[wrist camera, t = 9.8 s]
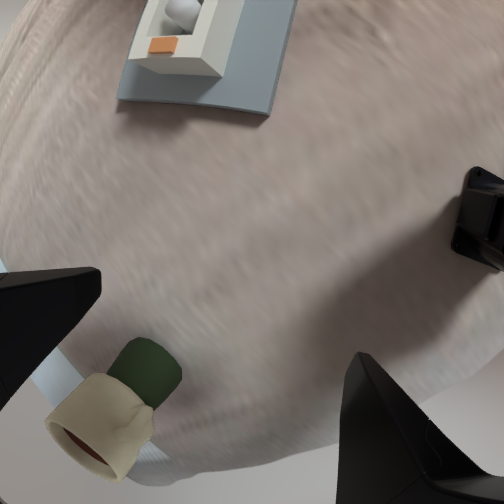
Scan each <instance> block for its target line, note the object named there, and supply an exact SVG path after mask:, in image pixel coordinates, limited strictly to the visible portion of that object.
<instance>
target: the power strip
mask: <svg viewBox="0 0 504 504" xmlns="http://www.w3.org/2000/svg"><path fill="white" fill-rule="evenodd" d="M169 1H170V0H148V3H147V5H146V8H145V10H144V13H143V16H142V18H141V21H140V24H139V26H138V29H137V32H136V35H135V38H134V41H133V44H132V47H131V50H130V54H129V57H128V60H131V61H133V62H135V63H137V64H139V65H141V66H143V67H146V68H148V69H150V70H152V71H154V72H156V73H158V74H183V75H203V76H216V77H223V75H224V71H225V67H226V63H227V60H228V56H229V52H230V49H231V45H232V41H233V38H234V34H235V31H236V28H237V24H238V21H239V18H240V14H241V11H242V8H243V5H244V1H245V0H197V1H198V2H203V5H202V7H201V10H200V13H199V16H198V19H197V22H196V25H195V28H194V31H193V34H192V35H181V33H182V30H183V29H182V28H181V27H180V26H179V25H178V24H177V23H176V22H174V21H173V20H172V19H171V18H170V17H168V16H167V15H166V13H165V7H166V5H167V3H168V2H169Z"/></svg>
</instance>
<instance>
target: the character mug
mask: <svg viewBox="0 0 504 504" xmlns="http://www.w3.org/2000/svg"><path fill="white" fill-rule="evenodd" d="M181 380H182V369H181V367H180V366H179V364H178V363H177V362H176V360H175V359H174V358H173V357H172V356H171V355H170V354H169V353H168V352H167V351H166V350H165V349H164V348H163V347H162V346H160V345H158V344H157V343H155V342H153V341H152V340H150V339H145V338H139V337H138V338H136V339H134V340H131V341H130V342H129V343H128V344H127V345H126V347H125V348H124V349H123V350H122V352H121V353H120V354H119V356H118V357H117V359H116V360H115V361H114V363H113V364H112V366H111V367H110V369H109V370H108V372H107V374H104V373H92V374H91V375H89V376H88V377H87V378H86V379H85V380H84V381H83V382H82V383H81V384H80V385H79V386H78V387H77V388H76V389H75V390H74V391H73V392H72V393H71V394H70V395H69V396H68V397H67V398H66V399H65V400H64V401H63V402H62V403H61V404H60V405H59V406H58V407H57V408H56V409H55V410H54V411H53V412H52V413H51V414H50V415H49V416H48V417H47V418H46V419H45V424H46V427H47V429H48V431H49V433H50V434H51V436H52V437H53V439H54V440H55V441H56V442H57V443H58V444H59V445H60V447H61V448H62V449H63V450H64V451H65V452H66V453H67V454H68V455H70V456H71V457H72V458H73V459H74V460H75V461H76V462H78V463H79V464H80V465H82V466H83V467H85V468H86V469H87V470H89V471H90V472H92V473H94V474H96V475H97V476H99V477H101V478H103V479H105V480H108V481H111V482H114V483H119V482H122V480H123V479H124V478H125V476H126V475H127V473H128V472H129V470H130V469H131V467H132V466H133V465H134V464H135V462H136V459H137V456H138V453H139V450H140V448H141V447H142V446H143V445H144V444H145V443H146V442H147V441H148V440H149V439H150V438H151V437H152V435H153V432H154V429H155V428H154V422H153V418H152V416H153V413H154V412H153V411H154V410H155V409H157V408H158V407H159V406H160V405H161V404H162V403H163V402H164V401H165V400H166V399H167V398H168V396H169V395H170V394H171V393H172V392H173V391H174V389H175V388H176V387H177V386H178V384H179V383H180V381H181Z"/></svg>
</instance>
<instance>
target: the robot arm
mask: <svg viewBox="0 0 504 504" xmlns="http://www.w3.org/2000/svg"><path fill="white" fill-rule="evenodd" d="M476 171H478V173H479V175H478V176H477V175H476ZM458 243H459V247H458V248H456V245H457V244H458ZM451 249H452V250H453V251H454V252H456V253H458V254H460V255H463V256H466V257H468V258H471V259H474V260H476V261H479V262H481V263H484V264H486V265H489V266H491V267H494V268H496V269H499V270H501V271H503V272H504V180H503V179H501V178H499V177H497V176H496V175H494V174H492V173H490V172H488V171H487V170H485V169H483V168H481V167H478V166H475V167H473V168H472V169H471V173H470V178H469V182H468V187H467V189H466V190H465V193H464V197H463V201H462V205H461V208H460V212H459V216H458V219H457V227H456V231H455V234H454V237H453V240H452V243H451ZM101 291H102V284H101V271H100V270H98V269H96V268H94V267H78V268H64V269H50V270H36V271H22V272H10V273H8V272H7V273H0V411H1V410H2V408H3V407H4V406H5V405H6V403H7V402H8V401H9V400H10V398H11V397H12V396H13V395H14V394H15V392H16V391H17V390H18V389H19V388H20V386H21V385H22V384H23V383H24V382H25V380H26V379H27V378H28V377H29V376H30V375H31V374H32V373H33V371H34V370H35V369H36V368H37V367H38V366H39V365H40V364H41V362H42V361H43V360H44V359H45V358H46V357H47V356H48V355H49V354H50V353H51V352H52V350H53V349H54V348H55V347H56V346H57V345H58V344H59V343H60V342H61V341H62V340H63V339H64V338H65V337H66V336H67V335H68V334H69V332H70V331H71V330H72V329H73V328H74V327H75V326H76V325H77V324H78V323H79V322H80V320H81V319H82V318H83V317H84V315H85V314H86V313H87V312H88V310H89V309H90V308H91V307H92V306H93V304H94V303H95V302H96V301H97V299H98V298H99V297H100V295H101ZM0 504H7V503H5V502H4V501H3V500H2V499H1V498H0ZM336 504H504V477H500V476H494V475H491V474H488V473H487V472H485V471H483V470H482V469H481V468H480V467H478V465H476V464H475V463H474V462H473V461H472V460H471V459H470V458H469V457H468V456H467V455H466V454H464V453H463V452H462V451H461V450H460V449H459V448H458V447H457V446H456V445H455V444H454V443H453V442H452V441H451V440H449V439H448V438H447V437H446V436H445V435H444V434H443V433H442V432H441V431H440V429H439V428H438V427H437V426H436V425H435V424H434V423H433V422H432V421H431V420H429V417H427V416H426V414H425V413H424V412H423V411H422V410H421V409H420V408H419V407H418V406H417V404H416V403H415V402H414V401H413V400H412V399H411V398H410V397H409V396H408V395H407V394H406V393H405V392H404V390H403V389H402V388H401V387H400V386H399V385H398V384H397V383H396V382H395V381H394V380H393V379H392V378H391V377H390V376H389V374H388V373H387V372H386V371H385V370H384V369H383V368H382V367H381V366H380V365H379V364H378V363H377V362H376V361H375V360H374V358H373V357H372V356H371V355H370V354H367V353H362V352H357V353H356V354H355V356H354V358H353V360H352V362H351V364H350V366H349V368H348V369H347V372H346V374H345V379H344V388H343V397H342V405H341V412H340V435H339V462H338V481H337V494H336Z"/></svg>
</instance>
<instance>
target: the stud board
mask: <svg viewBox="0 0 504 504" xmlns="http://www.w3.org/2000/svg"><path fill="white" fill-rule="evenodd" d="M297 1H298V0H245V1H244V5H243V8H242V11H241V14H240V18H239V21H238V24H237V28H236V31H235V34H234V38H233V41H232V45H231V49H230V52H229V56H228V60H227V63H226V67H225V71H224V75H223V77H216V76H203V75H183V74H158V73H156V72H154V71H152V70H150V69H148V68H146V67H143V66H141V65H139V64H137V63H135V62H133V61H131V60H128V57H129V54H130V50H131V47H132V44H133V41H134V38H135V35H136V32H137V29H138V26H139V24H140V21H141V18H142V16H143V13H144V10H145V8H146V5H147V3H148V0H147V2H146V4H145V7H144V9H143V12H142V14H141V17H140V20H139V23H138V25H137V28H136V31H135V34H134V37H133V40H132V43H131V46H130V49H129V52H128V56H127V59H126V62H125V66H124V69H123V73H122V77H121V80H120V84H119V88H118V92H117V97H116V99H119V100H123V101H143V102H163V103H177V104H189V105H199V106H208V107H216V108H224V109H231V110H238V111H244V112H250V113H256V114H261V115H267V116H270V114H271V110H272V105H273V101H274V97H275V92H276V88H277V84H278V79H279V75H280V71H281V67H282V63H283V58H284V54H285V50H286V46H287V42H288V37H289V33H290V29H291V25H292V21H293V17H294V13H295V9H296V5H297ZM202 5H203V2H198V1H197V0H170V1H169V2H168V3H167V5H166V7H165V13H166V15H167V16H168V17H170V18H171V19H172V20H173V21H174V22H176V23H177V24H178V25H179V26H180V27H181V28H182V29H183V30H182V33H181V35H192V34H193V31H194V28H195V25H196V22H197V19H198V16H199V13H200V10H201V7H202Z"/></svg>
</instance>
